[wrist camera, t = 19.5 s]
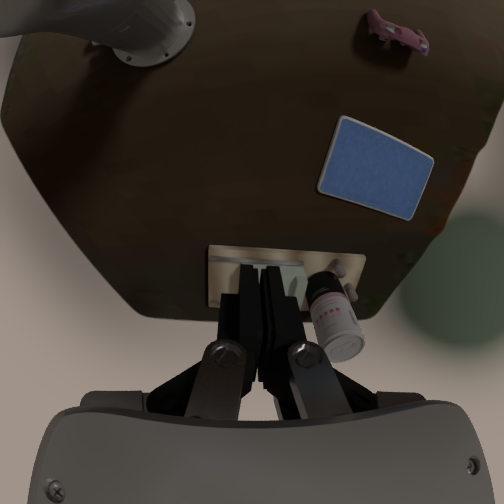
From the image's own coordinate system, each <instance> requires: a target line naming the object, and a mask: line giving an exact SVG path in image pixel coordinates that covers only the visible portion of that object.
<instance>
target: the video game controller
mask: <svg viewBox="0 0 504 504" xmlns="http://www.w3.org/2000/svg"><path fill="white" fill-rule="evenodd" d="M367 21H368V24H369V26H370V27H371V29H372V32H374V33H377V34H378V35H379V36H380V37H381V38H380V37H378V38H379V39H380V40H383V41H386V40H385V39H391V40H395V39H396V40H397V41H398V42H400V44H401V45H402V46H405V45H406V46H408V47H410V48H411V49H413V50H414V51H416V52H417V53H421V54H423V55H425V56H427V54H428V51H429V43H428V41H427V40H426V38H425V36H424V35H423V33H422V32H421V31H420V30H418V29H416V30H414V31H412V30H410V29H408V28H405V27H400V26H397V25H395V24H393V23H390V22H387V21H384V20H383V19H382V18H381V17H380V16H379V14H378V13H377V11H375V10H374V9H371V10H369V11H368V13H367Z"/></svg>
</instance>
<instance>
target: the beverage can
mask: <svg viewBox="0 0 504 504" xmlns="http://www.w3.org/2000/svg"><path fill="white" fill-rule="evenodd" d="M307 280H308V284H307V288H306V292H305V296H306V300H307V303H308V307H309V310H310V314H311V318H312V321H313V325H314V329H315V332H316V336H317V340H318V344H319V346H320V347H322V348H323V350H324V351H325V353H326V355H327V357H328V359H329V361H330V362H333V363H337V362H343V361H347V360H349V359H352V358H353V357H355V356H356V355H358V354H359V353H360V352H361V350H362V349H363V348H364V345H365V341H364V335H363V333H362V330H361V328H360V326H359V323H358V321H357V318H356V316H355V314H354V312H353V309H352V307H351V305H350V303H349V300H348V298H347V296H346V294H345V292H344V289H343V287H342V285H341V283H340V281H339V279H338V277H337V275H335V274H334V273H332V272H329V271H321V272H317V273H315V274H313V275H312V276H310V277H309V278H308V279H307Z"/></svg>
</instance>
